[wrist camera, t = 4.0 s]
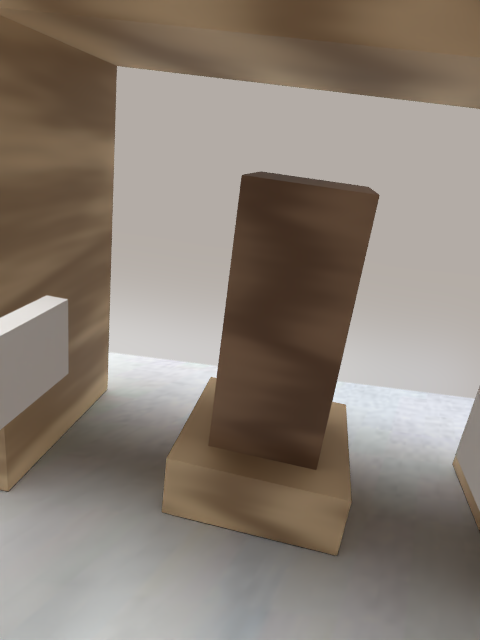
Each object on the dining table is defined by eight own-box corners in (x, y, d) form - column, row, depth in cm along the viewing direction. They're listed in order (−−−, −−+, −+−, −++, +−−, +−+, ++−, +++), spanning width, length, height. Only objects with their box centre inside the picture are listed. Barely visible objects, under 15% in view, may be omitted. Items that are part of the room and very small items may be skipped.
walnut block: (319, 412, 25) (368, 187, 21) (316, 470, 20) (379, 194, 16) (230, 394, 26) (261, 171, 21) (208, 445, 21) (241, 175, 17)
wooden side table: (478, 469, 27) (630, 71, 20) (555, 630, 18) (896, -7, 10) (86, 384, 30) (90, 15, 23) (-22, 484, 21) (-73, -82, 14)
